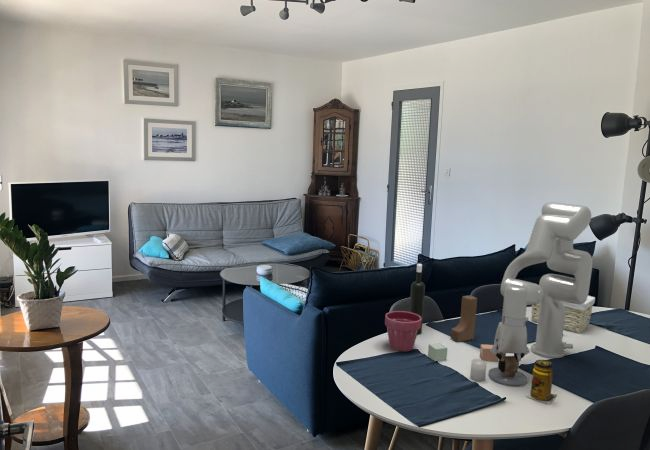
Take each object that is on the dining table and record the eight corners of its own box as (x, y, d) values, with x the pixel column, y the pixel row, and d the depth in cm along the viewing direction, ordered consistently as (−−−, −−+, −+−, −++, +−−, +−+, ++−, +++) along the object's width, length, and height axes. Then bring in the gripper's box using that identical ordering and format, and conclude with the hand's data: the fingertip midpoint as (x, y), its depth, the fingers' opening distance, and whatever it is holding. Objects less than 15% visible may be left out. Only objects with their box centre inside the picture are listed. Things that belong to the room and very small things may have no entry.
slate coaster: (516, 369, 192) (516, 367, 192) (534, 386, 180) (534, 383, 179) (482, 370, 191) (482, 367, 191) (497, 386, 178) (498, 384, 178)
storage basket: (592, 327, 242) (596, 296, 239) (581, 336, 230) (585, 303, 227) (540, 314, 257) (543, 284, 255) (527, 321, 245) (530, 291, 243)
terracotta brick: (495, 357, 203) (496, 345, 202) (498, 361, 199) (499, 349, 198) (479, 356, 203) (480, 344, 202) (482, 360, 199) (483, 348, 198)
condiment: (525, 397, 172) (529, 362, 170) (534, 388, 178) (538, 354, 176) (548, 404, 167) (552, 369, 165) (557, 395, 174) (561, 361, 172)
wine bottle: (418, 335, 222) (423, 266, 217) (405, 332, 225) (410, 264, 220) (423, 331, 227) (428, 263, 222) (411, 328, 230) (415, 261, 225)
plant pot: (398, 337, 219) (400, 308, 217) (426, 348, 209) (428, 317, 207) (376, 346, 209) (377, 315, 207) (404, 357, 199) (406, 325, 197)
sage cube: (438, 355, 203) (439, 342, 202) (446, 360, 198) (447, 347, 197) (427, 356, 201) (428, 344, 200) (435, 362, 196) (436, 349, 196)
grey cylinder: (481, 375, 187) (483, 359, 186) (487, 381, 182) (488, 365, 181) (467, 375, 186) (469, 359, 185) (473, 381, 181) (474, 365, 180)
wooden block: (457, 342, 216) (461, 300, 213) (450, 338, 220) (453, 297, 217) (474, 339, 220) (477, 297, 217) (466, 335, 224) (470, 294, 221)
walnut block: (509, 368, 187) (514, 355, 184) (514, 376, 184) (518, 364, 181) (498, 368, 187) (503, 356, 184) (503, 376, 183) (507, 364, 180)
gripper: (530, 317, 186) (525, 366, 189) (485, 316, 184) (480, 366, 187) (541, 324, 179) (535, 375, 182) (494, 324, 177) (489, 375, 180)
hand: (507, 370), depth 184 cm, fingers closed on walnut block, 4 cm apart
